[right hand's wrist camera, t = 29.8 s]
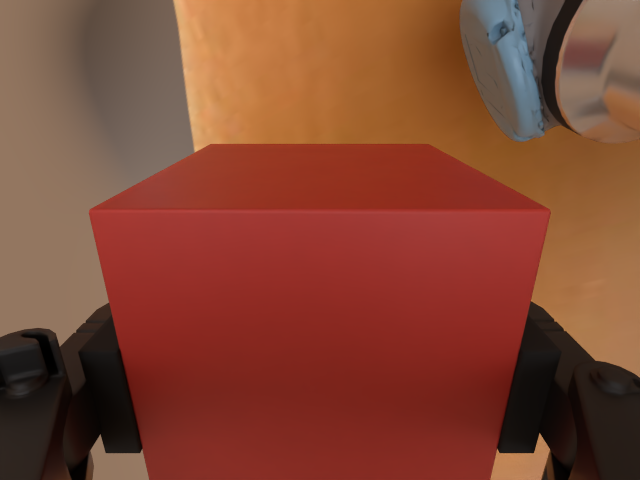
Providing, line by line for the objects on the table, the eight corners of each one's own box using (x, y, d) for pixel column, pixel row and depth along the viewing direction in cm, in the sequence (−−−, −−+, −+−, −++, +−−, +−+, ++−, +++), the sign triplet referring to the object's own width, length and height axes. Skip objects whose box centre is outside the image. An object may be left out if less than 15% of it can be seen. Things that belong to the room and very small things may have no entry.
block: (429, 143, 14) (553, 209, 7) (409, 336, 17) (480, 530, 10) (209, 143, 14) (86, 209, 7) (229, 336, 17) (159, 530, 10)
